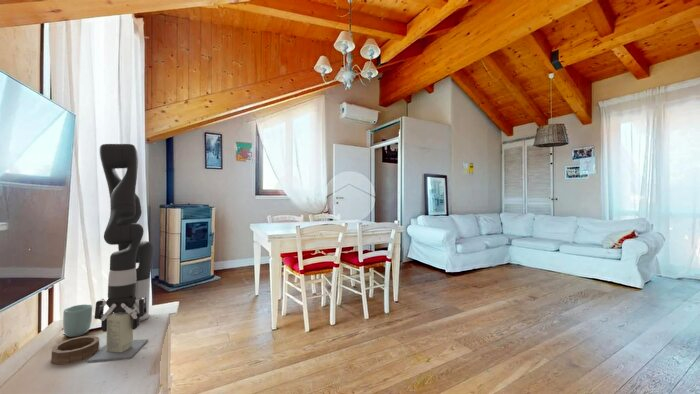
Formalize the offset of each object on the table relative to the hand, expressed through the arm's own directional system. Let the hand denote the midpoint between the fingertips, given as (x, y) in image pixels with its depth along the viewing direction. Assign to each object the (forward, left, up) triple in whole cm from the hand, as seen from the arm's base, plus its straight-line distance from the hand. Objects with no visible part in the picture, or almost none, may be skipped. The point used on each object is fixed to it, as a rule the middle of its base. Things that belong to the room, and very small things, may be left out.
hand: (120, 329), depth 98 cm
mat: (0, 0, -7) cm, 7 cm away
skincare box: (0, 0, -7) cm, 7 cm away
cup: (-16, -22, -7) cm, 28 cm away
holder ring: (0, -13, -7) cm, 14 cm away
